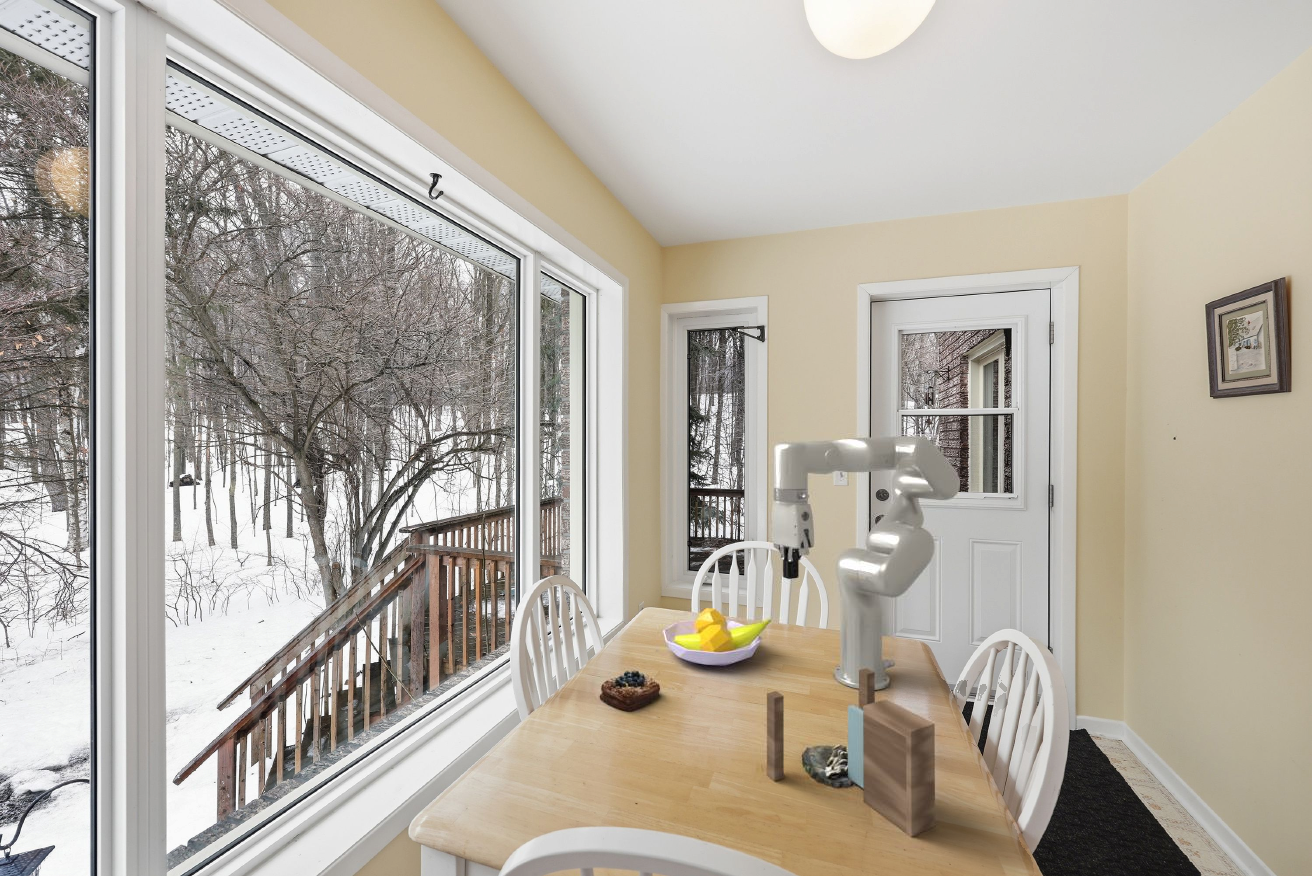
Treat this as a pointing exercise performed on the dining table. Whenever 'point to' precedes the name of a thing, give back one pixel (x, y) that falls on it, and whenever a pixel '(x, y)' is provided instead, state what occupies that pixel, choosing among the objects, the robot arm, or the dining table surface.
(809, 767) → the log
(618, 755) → the dining table surface
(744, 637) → the fruit bowl
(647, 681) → the pastry
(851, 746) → the door panel
